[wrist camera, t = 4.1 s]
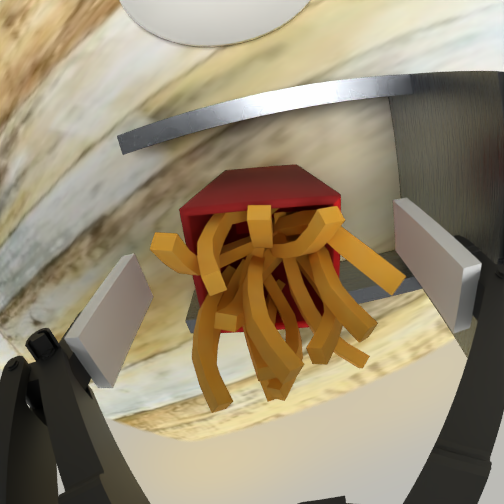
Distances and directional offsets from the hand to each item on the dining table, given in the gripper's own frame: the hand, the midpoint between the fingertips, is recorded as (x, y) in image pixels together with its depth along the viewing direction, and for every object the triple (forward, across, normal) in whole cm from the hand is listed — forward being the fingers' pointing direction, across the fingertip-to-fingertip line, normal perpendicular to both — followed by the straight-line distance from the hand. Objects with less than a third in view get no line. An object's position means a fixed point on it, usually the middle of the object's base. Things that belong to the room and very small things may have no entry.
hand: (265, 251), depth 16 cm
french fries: (+8, +1, -1) cm, 8 cm away
